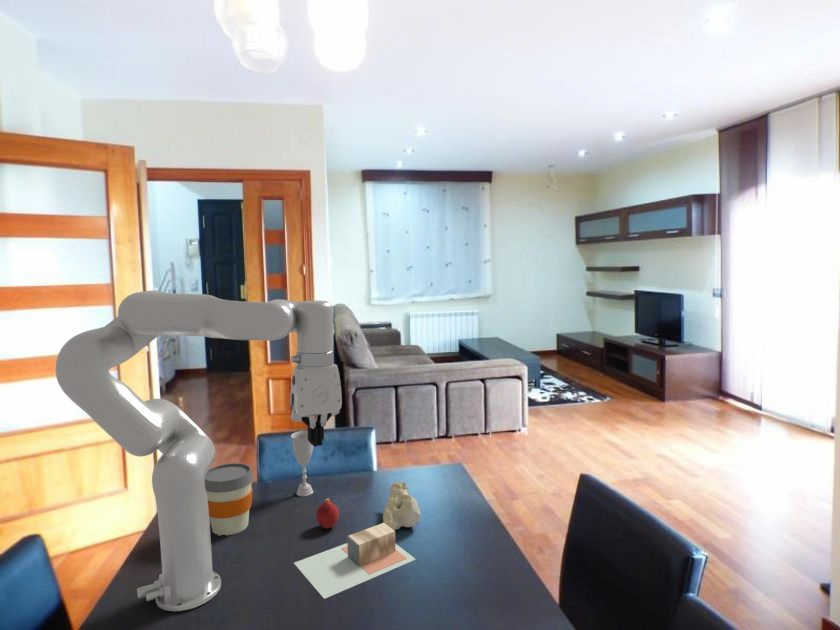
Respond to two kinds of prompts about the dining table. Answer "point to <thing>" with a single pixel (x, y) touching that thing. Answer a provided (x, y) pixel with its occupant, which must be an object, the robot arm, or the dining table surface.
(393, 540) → the maple block
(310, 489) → the chalice
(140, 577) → the dining table surface
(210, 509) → the reusable coffee cup
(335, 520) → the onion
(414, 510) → the beige rock
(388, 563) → the mat
